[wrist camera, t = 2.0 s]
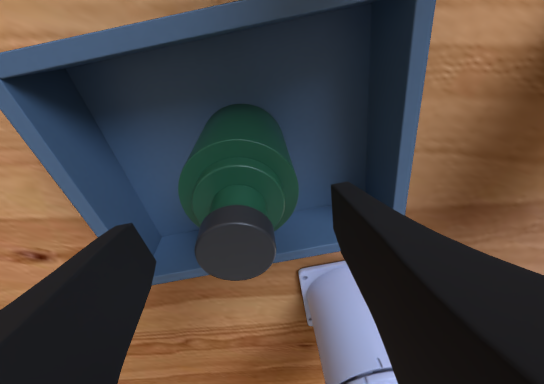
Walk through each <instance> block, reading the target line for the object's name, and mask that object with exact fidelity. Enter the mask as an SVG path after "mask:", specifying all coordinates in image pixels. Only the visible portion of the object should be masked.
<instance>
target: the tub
mask: <svg viewBox="0 0 544 384" xmlns="http://www.w3.org/2000/svg"><path fill="white" fill-rule="evenodd" d="M435 3H436V0H239V1H234V2H230V3H225V4H221V5H216V6H212V7H207V8H202V9H198V10H193V11H189V12H184V13H180V14H175V15H170V16H166V17H161V18H157V19H152V20H148V21H143V22H138V23H134V24H129V25H125V26H120V27H115V28H111V29H106V30H102V31H97V32H93V33H88V34H83V35H79V36H74V37H70V38H65V39H61V40H56V41H51V42H47V43H42V44H38V45H33V46H29V47H24V48H19V49H15V50H10V51H6V52H1V53H0V110H1V111H2V112H3V113H4V115H5V116H6V117H7V119H8V120H9V121H10V123H11V124H12V125H13V127H14V128H15V129H16V131H17V132H18V133H19V134H20V136H21V137H22V138H23V140H24V141H25V142H26V144H27V145H28V146H29V148H30V149H31V150H32V152H33V153H34V154H35V155H36V157H37V158H38V159H39V161H40V162H41V163H42V165H43V166H44V167H45V169H46V170H47V171H48V173H49V174H50V175H51V176H52V178H53V179H54V180H55V182H56V183H57V184H58V186H59V187H60V188H61V190H62V191H63V192H64V194H65V195H66V196H67V197H68V199H69V200H70V201H71V203H72V204H73V205H74V207H75V208H76V209H77V211H78V212H79V213H80V215H81V216H82V217H83V218H84V220H85V221H86V222H87V224H88V225H89V226H90V228H91V229H92V230H93V232H94V233H95V234H96V236H97V237H100V236H101V235H102V234H104V233H105V232H107V231H108V230H110V229H111V228H113V227H115V226H117V225H122V224H127V223H133V225H134V226H135V228H136V230H137V231H138V233H139V234H140V236H141V237H142V239H143V241H144V242H145V244H146V245H147V247H148V249H149V250H150V252H151V253H152V255H153V256H154V258H155V260H156V261H157V262H156V267H155V272H154V277H153V281H152V285H156V284H162V283H167V282H173V281H178V280H184V279H189V278H195V277H200V276H206V275H210V274H209V273H207V272H206V271H205V270H203V269H202V268H201V266H200V265H199V264H198V262H197V260H196V257H195V252H194V248H195V243H196V240H197V236H198V232H199V227H198V226H197V225H195V224H194V223H193V222H192V221H191V220H190V219H189V217H188V216H187V215H186V213H185V211H184V210H183V208H182V205H181V203H180V199H179V195H178V182H179V177H180V174H181V172H182V169H183V167H184V165H185V163H186V161H187V159H188V157H189V156H190V154H191V152H192V150H193V148H194V146H195V144H196V142H197V140H198V138H199V136H200V134H201V132H202V130H203V128H204V127H205V125H206V123H207V121H208V120H209V118H210V117H211V116H212V115H213V114H214V113H215V112H217V111H218V110H220V109H221V108H223V107H226V106H229V105H232V104H250V105H254V106H257V107H259V108H262V109H263V110H265V111H266V112H268V113H269V114H270V115H271V116H272V117H273V118H274V119H275V120H276V121H277V123H278V125H279V126H280V128H281V131H282V134H283V137H284V140H285V143H286V146H287V149H288V152H289V155H290V158H291V161H292V164H293V167H294V170H295V173H296V176H297V180H298V184H299V197H298V201H297V205H296V207H295V210H294V212H293V213H292V215H291V217H290V218H289V219H288V220H287V221H286V222H285V223H284V224H283V225H282V226H281V227H280V228H279V229H277V230H276V231H274V234H275V243H276V256H275V259H274V261H273V263H277V262H283V261H288V260H294V259H299V258H305V257H310V256H316V255H321V254H327V253H332V252H338V251H341V250H340V247H339V244H338V242H337V239H336V236H335V233H334V230H333V217H332V200H331V184H336V183H342V182H347V181H348V182H350V183H352V184H353V185H355V186H357V187H358V188H360V189H361V190H363V191H364V192H366V193H367V194H369V195H371V196H372V197H374V198H375V199H377V200H379V201H380V202H382V203H384V204H385V205H387V206H389V207H390V208H392V209H394V210H395V211H397V212H399V213H401V214H403V215H404V216H405V210H406V203H407V197H408V190H409V183H410V176H411V169H412V162H413V155H414V148H415V141H416V135H417V128H418V121H419V114H420V107H421V100H422V93H423V86H424V79H425V72H426V66H427V59H428V52H429V45H430V38H431V31H432V24H433V17H434V10H435Z"/></svg>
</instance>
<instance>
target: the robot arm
mask: <svg viewBox="0 0 544 384" xmlns="http://www.w3.org/2000/svg"><path fill="white" fill-rule="evenodd" d="M331 200H332V217H333V230H334V233H335V236H336V239H337V242H338V244H339V247H340V250H341V253H342V255H343V257H344V259H345V261H340V262H334V263H329V264H323V265H318V266H312V267H307V268H302V269H300V270H299V271H298V274H299V279H300V285H301V290H302V296H303V301H304V307H305V312H306V318H307V323H308V325H309V326H313V328H314V332H315V337H316V342H317V346H318V351H319V356H320V360H321V365H322V369H323V374H324V379H325V383H326V384H544V275H541V274H538V273H535V272H533V271H530V270H527V269H525V268H522V267H519V266H517V265H514V264H511V263H509V262H506V261H503V260H501V259H498V258H495V257H493V256H490V255H488V254H485V253H483V252H480V251H478V250H475V249H473V248H471V247H468V246H466V245H464V244H462V243H459V242H457V241H455V240H452V239H450V238H448V237H446V236H443V235H441V234H439V233H437V232H435V231H433V230H431V229H429V228H427V227H425V226H423V225H421V224H419V223H417V222H416V221H414V220H412V219H410V218H408V217H406V216H404V215H403V214H401V213H399V212H397V211H395V210H394V209H392V208H390V207H389V206H387V205H385V204H384V203H382V202H380V201H379V200H377V199H375V198H374V197H372V196H371V195H369V194H367V193H366V192H364V191H363V190H361V189H360V188H358V187H357V186H355V185H353V184H352V183H350V182H348V181H347V182H342V183H336V184H331ZM156 262H157V261H156V260H155V258H154V256H153V255H152V253H151V252H150V250H149V249H148V247H147V245H146V244H145V242H144V241H143V239H142V237H141V236H140V234H139V233H138V231H137V230H136V228H135V226H134V225H133V223H127V224H122V225H117V226H115V227H113V228H111V229H110V230H108V231H107V232H105V233H104V234H102V235H101V236H100V237H98V238H97V239H95V240H94V241H93V242H91V243H90V244H89V245H87V246H86V247H85V248H84V249H82V250H81V251H80V252H78V253H77V254H76V255H74V256H73V257H72V258H71V259H69V260H68V261H67V262H65V263H64V264H63V265H61V266H60V267H59V268H57V269H56V270H55V271H54V272H52V273H51V274H50V275H48V276H47V277H45V278H44V279H43V280H41V281H40V282H39V283H37V284H36V285H35V286H33V287H32V288H31V289H29V290H28V291H26V292H25V293H24V294H22V295H21V296H20V297H18V298H17V299H16V300H14V301H13V302H11V303H10V304H9V305H7V306H6V307H4V308H3V309H1V310H0V384H117V383H118V380H119V376H120V372H121V369H122V366H123V363H124V360H125V357H126V354H127V351H128V348H129V346H130V343H131V340H132V338H133V335H134V332H135V330H136V327H137V324H138V322H139V319H140V316H141V314H142V311H143V308H144V306H145V303H146V300H147V297H148V295H149V292H150V289H151V285H152V281H153V277H154V272H155V267H156Z"/></svg>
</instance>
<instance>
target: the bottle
mask: <svg viewBox="0 0 544 384" xmlns="http://www.w3.org/2000/svg"><path fill="white" fill-rule="evenodd" d="M178 195H179V199H180V203H181V205H182V208H183V210H184V211H185V213H186V215H187V216H188V217H189V219H190V220H191V221H192V222H193V223H194V224H195V225H197V226H198V227H199V232H198V236H197V240H196V243H195V248H194V252H195V257H196V260H197V262H198V264H199V265H200V266H201V268H202V269H203V270H205V271H206V272H207V273H209V274H210V275H212V276H214V277H217V278H220V279H224V280H231V281H239V280H247V279H251V278H254V277H256V276H259V275H260V274H262V273H263V272H265V271H266V270H267V269H268V268H269V267H270V266H271V265H272V263H273V261H274V259H275V256H276V243H275V234H274V231H276V230H277V229H279V228H280V227H281V226H282V225H283V224H284V223H285V222H286V221H287V220H288V219H289V218H290V217H291V215H292V213H293V212H294V210H295V207H296V205H297V201H298V197H299V184H298V180H297V176H296V173H295V170H294V167H293V164H292V161H291V158H290V155H289V152H288V149H287V146H286V143H285V140H284V137H283V134H282V131H281V128H280V126H279V125H278V123H277V121H276V120H275V119H274V118H273V117H272V116H271V115H270V114H269V113H268V112H266V111H265V110H263V109H262V108H259V107H257V106H254V105H250V104H232V105H229V106H226V107H223V108H221V109H220V110H218V111H217V112H215V113H214V114H213V115H212V116H211V117H210V118H209V120H208V121H207V123H206V125H205V127H204V128H203V130H202V132H201V134H200V136H199V138H198V140H197V142H196V144H195V146H194V148H193V150H192V152H191V154H190V156H189V157H188V159H187V161H186V163H185V165H184V167H183V169H182V172H181V174H180V177H179V182H178Z"/></svg>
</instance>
